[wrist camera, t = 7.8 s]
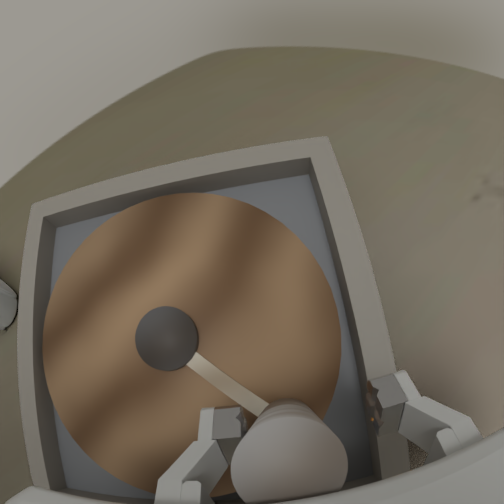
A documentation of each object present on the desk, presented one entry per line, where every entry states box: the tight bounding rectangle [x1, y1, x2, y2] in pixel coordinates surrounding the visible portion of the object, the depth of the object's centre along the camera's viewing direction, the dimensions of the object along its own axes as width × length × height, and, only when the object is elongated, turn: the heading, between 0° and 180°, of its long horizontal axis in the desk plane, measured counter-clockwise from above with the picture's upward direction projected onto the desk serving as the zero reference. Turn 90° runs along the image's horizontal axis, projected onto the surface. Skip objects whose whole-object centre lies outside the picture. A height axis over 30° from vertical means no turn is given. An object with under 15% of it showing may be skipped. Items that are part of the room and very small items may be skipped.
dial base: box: [17, 136, 411, 504], centre depth 19 cm, size 24×24×3 cm
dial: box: [42, 193, 348, 504], centre depth 14 cm, size 19×19×11 cm
